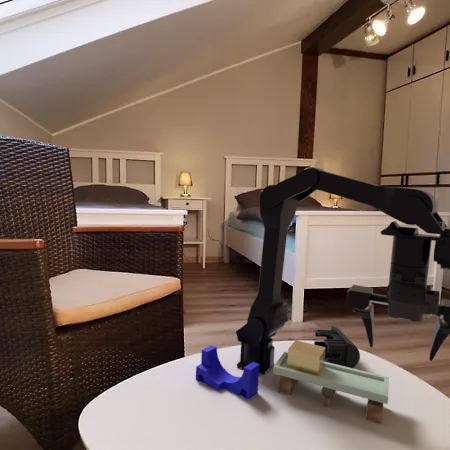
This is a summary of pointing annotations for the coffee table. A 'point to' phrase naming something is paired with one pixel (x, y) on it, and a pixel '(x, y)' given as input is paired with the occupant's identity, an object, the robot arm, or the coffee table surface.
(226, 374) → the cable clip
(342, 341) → the end cap
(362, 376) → the green rimmed tray
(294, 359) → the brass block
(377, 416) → the beam stand
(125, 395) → the coffee table surface
